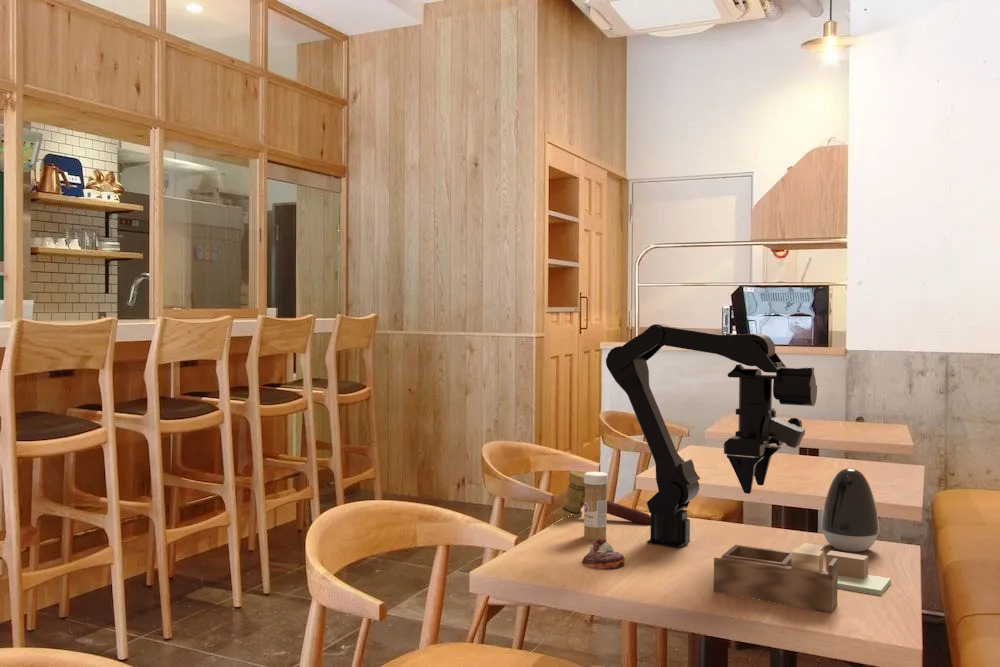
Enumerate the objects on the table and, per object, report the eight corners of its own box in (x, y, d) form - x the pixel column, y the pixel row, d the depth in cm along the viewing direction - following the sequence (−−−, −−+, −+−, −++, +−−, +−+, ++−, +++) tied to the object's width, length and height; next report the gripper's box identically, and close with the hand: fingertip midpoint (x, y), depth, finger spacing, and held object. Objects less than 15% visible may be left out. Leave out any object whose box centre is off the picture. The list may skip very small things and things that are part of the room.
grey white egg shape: (817, 551, 164) (818, 470, 164) (824, 539, 174) (825, 462, 173) (876, 558, 160) (877, 475, 159) (881, 545, 169) (882, 466, 169)
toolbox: (713, 593, 139) (714, 549, 139) (735, 573, 149) (735, 532, 149) (832, 612, 130) (832, 565, 130) (845, 590, 141) (846, 547, 140)
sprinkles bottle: (578, 541, 171) (579, 472, 171) (596, 538, 173) (597, 470, 173) (593, 546, 167) (594, 475, 167) (612, 543, 169) (612, 473, 169)
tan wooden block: (791, 570, 133) (791, 552, 133) (800, 560, 139) (800, 542, 139) (818, 574, 131) (819, 555, 131) (827, 563, 137) (827, 545, 137)
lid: (815, 586, 144) (815, 560, 144) (827, 575, 150) (828, 549, 150) (880, 597, 138) (881, 570, 138) (890, 585, 145) (891, 559, 145)
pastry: (594, 560, 158) (594, 532, 158) (632, 566, 154) (633, 538, 154) (573, 570, 152) (573, 541, 152) (613, 577, 148) (613, 548, 148)
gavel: (656, 544, 184) (668, 499, 183) (652, 550, 180) (665, 504, 179) (562, 512, 191) (573, 469, 190) (556, 517, 186) (567, 472, 185)
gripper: (789, 410, 147) (788, 503, 147) (811, 401, 163) (810, 485, 164) (723, 406, 153) (722, 496, 153) (751, 398, 169) (750, 479, 169)
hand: (754, 489), depth 160 cm, fingers open, 9 cm apart
